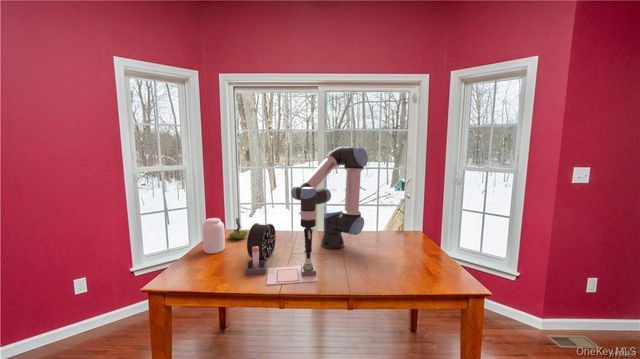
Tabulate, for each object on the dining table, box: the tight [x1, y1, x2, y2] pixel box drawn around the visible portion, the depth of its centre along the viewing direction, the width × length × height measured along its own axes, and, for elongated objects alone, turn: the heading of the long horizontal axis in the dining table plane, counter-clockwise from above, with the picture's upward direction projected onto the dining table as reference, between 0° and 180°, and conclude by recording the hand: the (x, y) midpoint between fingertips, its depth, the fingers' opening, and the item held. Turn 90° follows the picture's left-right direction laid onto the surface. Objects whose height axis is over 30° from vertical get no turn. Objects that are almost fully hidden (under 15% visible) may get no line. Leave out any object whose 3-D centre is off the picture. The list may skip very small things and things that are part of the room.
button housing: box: [300, 264, 317, 277], centre depth 137 cm, size 7×7×2 cm
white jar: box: [202, 217, 226, 255], centre depth 166 cm, size 12×12×20 cm
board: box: [266, 265, 318, 286], centre depth 135 cm, size 24×17×1 cm
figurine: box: [228, 217, 249, 240], centre depth 188 cm, size 14×13×15 cm
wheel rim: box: [246, 222, 277, 260], centre depth 156 cm, size 20×9×20 cm, turn 168°
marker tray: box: [244, 259, 267, 276], centre depth 140 cm, size 10×10×3 cm
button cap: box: [303, 262, 314, 271], centre depth 136 cm, size 4×4×4 cm
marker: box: [252, 246, 260, 269], centre depth 140 cm, size 3×3×12 cm
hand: (308, 263), depth 136 cm, fingers closed
